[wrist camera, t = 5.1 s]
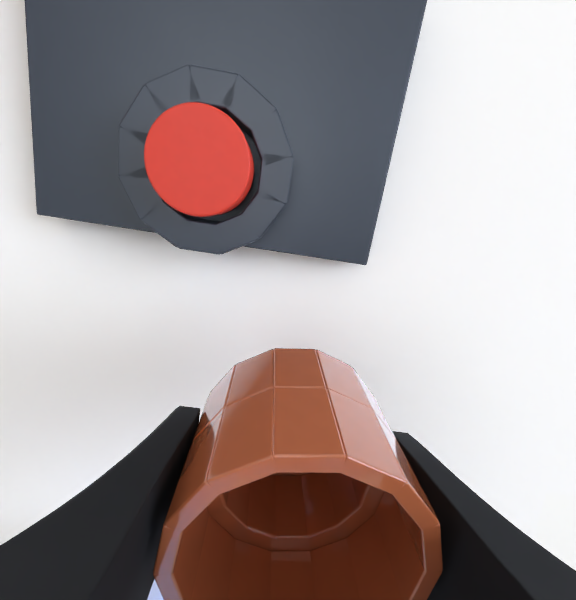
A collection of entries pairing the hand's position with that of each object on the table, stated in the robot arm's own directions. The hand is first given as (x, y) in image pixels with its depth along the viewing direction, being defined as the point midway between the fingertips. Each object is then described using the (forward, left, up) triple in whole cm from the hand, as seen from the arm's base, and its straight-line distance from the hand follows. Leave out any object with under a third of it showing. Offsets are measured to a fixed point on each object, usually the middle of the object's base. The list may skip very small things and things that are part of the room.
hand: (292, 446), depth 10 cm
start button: (-1, +9, -5) cm, 11 cm away
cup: (0, 0, -1) cm, 1 cm away
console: (0, +11, -8) cm, 14 cm away
